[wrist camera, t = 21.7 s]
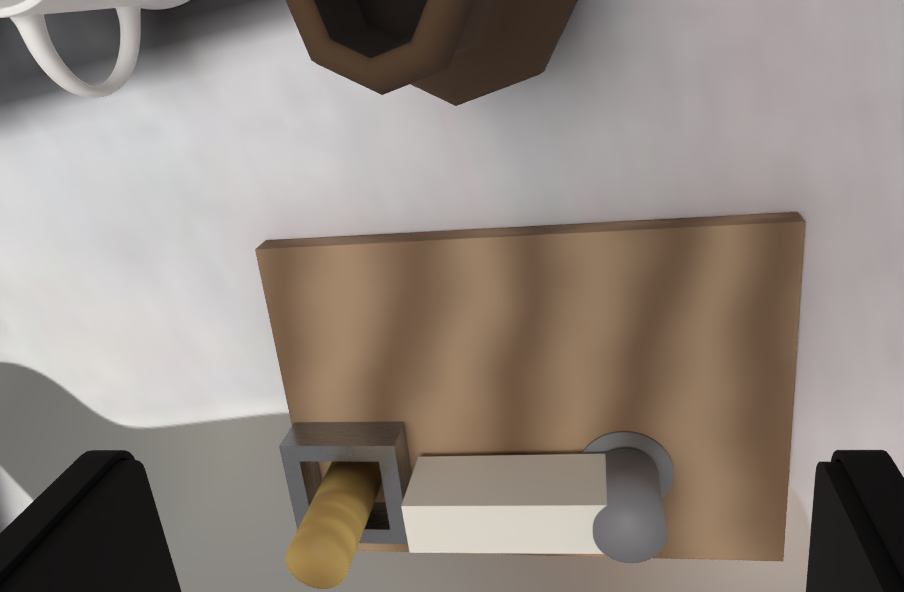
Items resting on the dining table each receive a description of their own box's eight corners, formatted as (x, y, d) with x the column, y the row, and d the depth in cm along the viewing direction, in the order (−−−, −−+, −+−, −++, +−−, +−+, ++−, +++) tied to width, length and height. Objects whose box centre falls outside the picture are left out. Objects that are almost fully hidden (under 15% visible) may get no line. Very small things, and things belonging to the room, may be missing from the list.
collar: (404, 421, 45) (394, 445, 42) (418, 516, 47) (409, 544, 45) (294, 422, 46) (279, 446, 43) (313, 514, 48) (300, 541, 46)
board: (797, 212, 38) (819, 238, 34) (777, 543, 46) (793, 593, 42) (265, 240, 43) (236, 265, 40) (325, 534, 51) (304, 578, 47)
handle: (658, 447, 42) (666, 503, 38) (659, 503, 43) (668, 563, 39) (417, 452, 45) (399, 505, 40) (426, 504, 46) (409, 560, 42)
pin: (380, 446, 45) (342, 538, 38) (387, 492, 47) (351, 589, 39) (327, 446, 46) (280, 537, 39) (336, 491, 47) (291, 587, 40)
